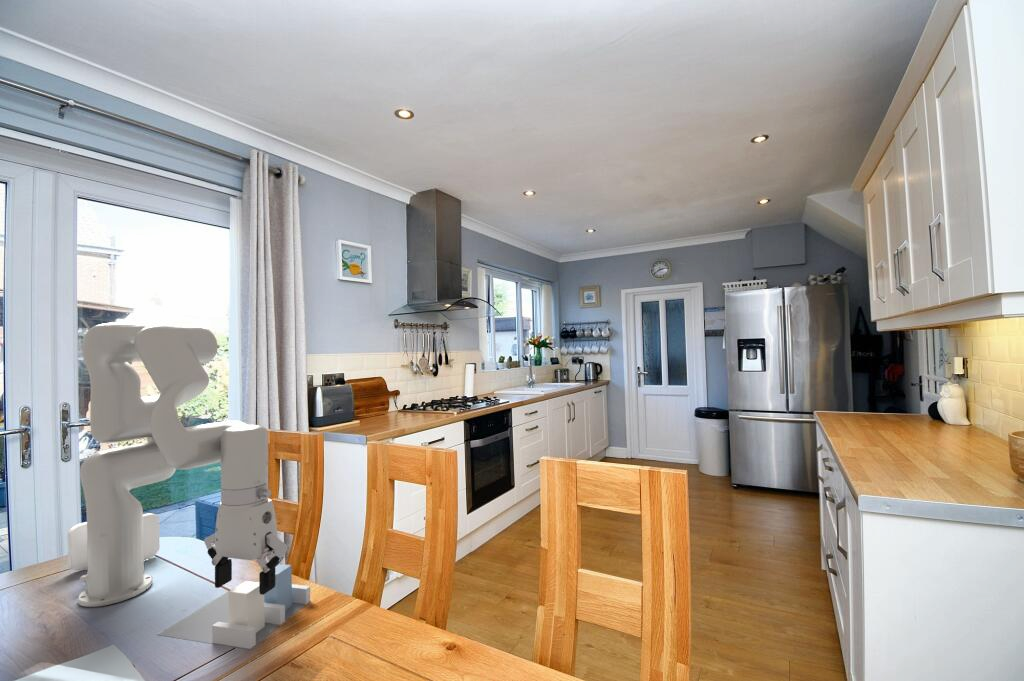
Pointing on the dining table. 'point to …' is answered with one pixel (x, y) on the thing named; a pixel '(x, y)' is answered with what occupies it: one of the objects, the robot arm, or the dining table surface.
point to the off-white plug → (247, 605)
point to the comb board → (216, 628)
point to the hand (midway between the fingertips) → (245, 587)
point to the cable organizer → (79, 542)
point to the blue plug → (281, 587)
